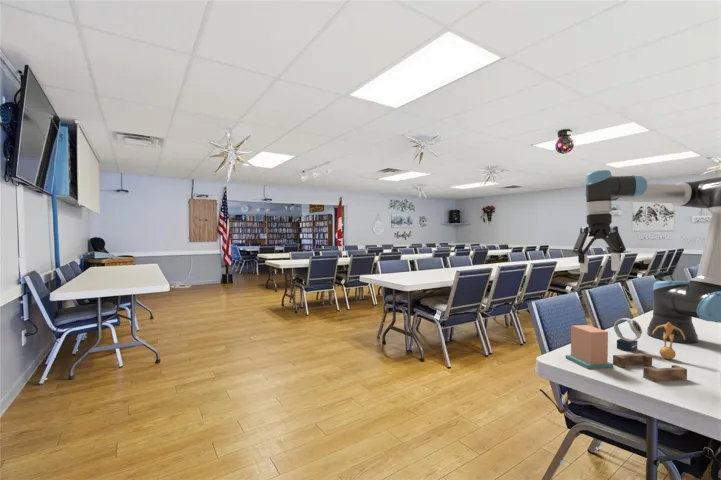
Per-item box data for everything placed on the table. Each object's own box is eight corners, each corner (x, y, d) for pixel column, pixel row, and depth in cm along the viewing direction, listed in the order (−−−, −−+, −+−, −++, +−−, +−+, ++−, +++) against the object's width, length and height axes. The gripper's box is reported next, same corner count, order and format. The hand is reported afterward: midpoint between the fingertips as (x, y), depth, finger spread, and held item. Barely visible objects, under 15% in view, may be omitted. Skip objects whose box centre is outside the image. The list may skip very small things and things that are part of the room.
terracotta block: (586, 354, 114) (587, 325, 114) (607, 363, 106) (607, 331, 106) (570, 355, 113) (571, 325, 113) (590, 364, 105) (590, 332, 105)
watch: (637, 353, 118) (638, 322, 118) (611, 347, 125) (611, 317, 125) (644, 350, 121) (644, 320, 121) (617, 344, 128) (618, 315, 128)
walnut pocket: (642, 362, 110) (642, 353, 110) (686, 379, 97) (687, 369, 97) (612, 364, 108) (613, 354, 108) (653, 381, 95) (653, 371, 95)
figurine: (650, 356, 115) (650, 321, 115) (653, 352, 119) (653, 318, 119) (683, 363, 109) (684, 326, 109) (685, 359, 113) (686, 323, 113)
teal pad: (589, 356, 115) (589, 353, 115) (612, 367, 106) (612, 363, 106) (565, 358, 113) (565, 355, 113) (587, 368, 104) (587, 365, 104)
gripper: (618, 213, 130) (619, 269, 130) (561, 214, 125) (562, 271, 126) (637, 212, 122) (638, 270, 123) (577, 213, 118) (578, 274, 118)
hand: (599, 271), depth 124 cm, fingers open, 13 cm apart
